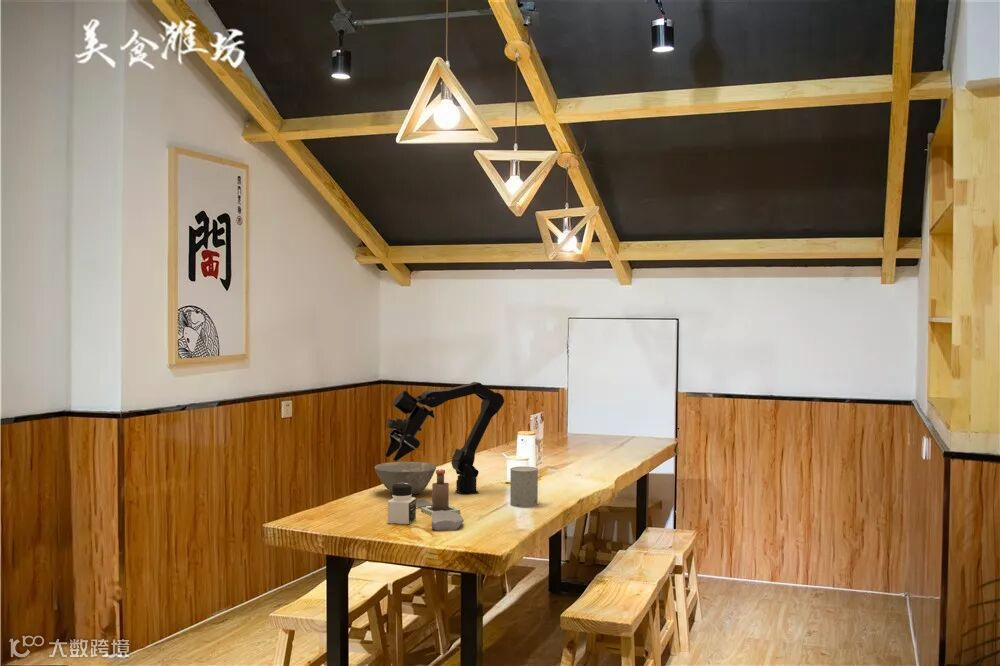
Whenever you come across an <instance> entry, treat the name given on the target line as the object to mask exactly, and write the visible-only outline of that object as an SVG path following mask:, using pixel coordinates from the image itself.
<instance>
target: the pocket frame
mask: <svg viewBox="0 0 1000 666" xmlns="http://www.w3.org/2000/svg"><path fill="white" fill-rule="evenodd" d="M422 511H423V512H422ZM448 511H450V512H456V513H460V514H461V509H459V508H456V507H454V506H452V505H449V510H448ZM420 512H422V513H424V512H425V513H424V514H426V513H428V514H430V515H429V516H431V515H432V513H433V512H435V511H432V506H431V507H423V508H420ZM428 514H427V515H428Z"/></svg>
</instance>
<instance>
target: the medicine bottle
mask: <svg viewBox="0 0 1000 666" xmlns="http://www.w3.org/2000/svg"><path fill="white" fill-rule="evenodd" d="M391 496H392V498H391V499H389V500H388V501H387V524H388V523H397V524H396V525H407V524H409V525H411V523H413V522H415V519H417V517H416V516H417V508H416V500H417V499H416V497H413V496H412V495H411V485H410V484H408V483H397V484H394V485H393V486H392V492H391Z"/></svg>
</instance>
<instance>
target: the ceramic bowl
mask: <svg viewBox="0 0 1000 666" xmlns="http://www.w3.org/2000/svg"><path fill="white" fill-rule="evenodd" d="M436 470H437V466H436V464H435V463H432V462H421V461H402V460H401V461H394V462H393V461H392V462H383V463H380V464H379V463H378V464H376V465H374V471H375V472H376V474H377V476H378V478H379V480H380V482H381V483H382V484H383V486H384V487H385V488H386V489H387V490H388V492H390V493H392V486H393V485H394V484H397V483H408V484H410V485H411V494H414V495H418V493H419V494H420V493H423V491H424V490H425V489H426V488H427V487H428V485H429V483H430V482H431V479H432V478H433V476H434V474H435V473H436Z"/></svg>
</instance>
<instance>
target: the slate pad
mask: <svg viewBox="0 0 1000 666" xmlns="http://www.w3.org/2000/svg"><path fill="white" fill-rule="evenodd" d="M426 506H432V501H429V500H426V499H416V507H426Z"/></svg>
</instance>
